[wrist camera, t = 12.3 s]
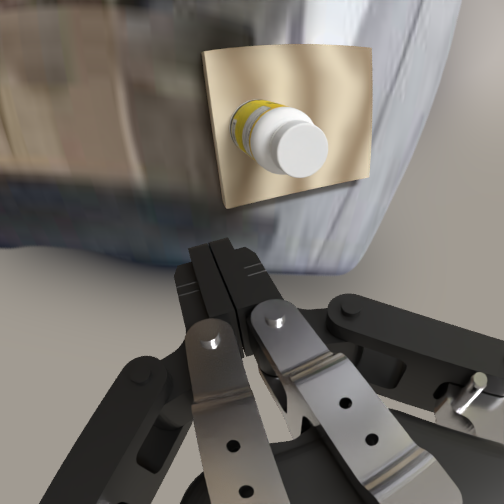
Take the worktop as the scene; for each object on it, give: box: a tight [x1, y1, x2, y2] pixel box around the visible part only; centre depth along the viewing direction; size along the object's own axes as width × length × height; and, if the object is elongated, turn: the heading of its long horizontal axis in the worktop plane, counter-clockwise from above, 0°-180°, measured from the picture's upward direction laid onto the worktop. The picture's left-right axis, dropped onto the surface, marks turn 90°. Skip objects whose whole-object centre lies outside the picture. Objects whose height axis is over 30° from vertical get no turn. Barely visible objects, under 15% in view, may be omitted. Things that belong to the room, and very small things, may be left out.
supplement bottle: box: [229, 99, 328, 178], centre depth 24 cm, size 5×5×10 cm
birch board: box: [201, 44, 372, 209], centre depth 29 cm, size 18×16×2 cm
